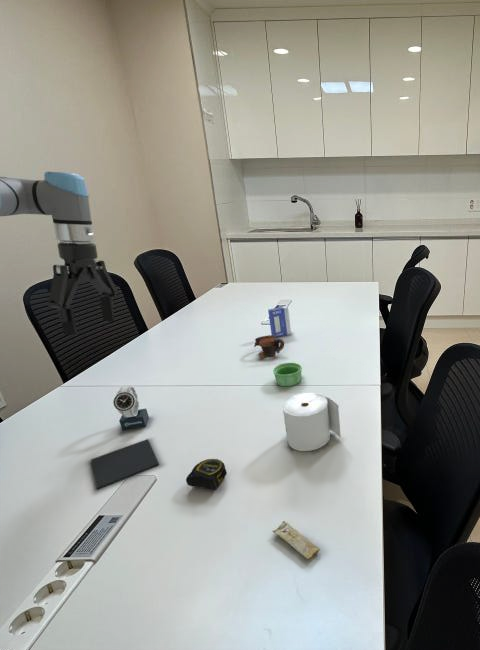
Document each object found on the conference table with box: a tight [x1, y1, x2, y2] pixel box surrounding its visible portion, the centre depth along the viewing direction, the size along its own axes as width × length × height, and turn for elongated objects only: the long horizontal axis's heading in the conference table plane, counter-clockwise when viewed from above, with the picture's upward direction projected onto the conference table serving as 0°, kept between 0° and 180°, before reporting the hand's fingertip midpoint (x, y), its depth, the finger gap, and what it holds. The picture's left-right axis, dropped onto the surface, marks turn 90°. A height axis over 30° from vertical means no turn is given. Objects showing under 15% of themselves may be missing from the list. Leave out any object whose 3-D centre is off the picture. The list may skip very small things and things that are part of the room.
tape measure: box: [185, 458, 228, 491], centre depth 82 cm, size 7×7×4 cm
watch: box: [112, 385, 150, 432], centre depth 102 cm, size 6×8×11 cm
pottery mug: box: [253, 334, 286, 360], centre depth 144 cm, size 12×10×8 cm
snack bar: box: [272, 520, 321, 559], centre depth 68 cm, size 10×2×3 cm
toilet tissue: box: [282, 392, 342, 452], centre depth 95 cm, size 11×12×10 cm
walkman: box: [267, 305, 292, 339], centre depth 160 cm, size 8×3×12 cm, turn 126°
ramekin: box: [272, 362, 303, 387], centre depth 124 cm, size 9×9×4 cm
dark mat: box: [90, 438, 160, 490], centre depth 89 cm, size 12×12×1 cm
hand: (91, 327), depth 100 cm, fingers open, 13 cm apart
